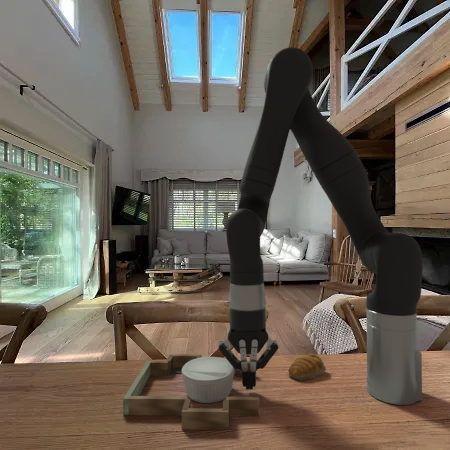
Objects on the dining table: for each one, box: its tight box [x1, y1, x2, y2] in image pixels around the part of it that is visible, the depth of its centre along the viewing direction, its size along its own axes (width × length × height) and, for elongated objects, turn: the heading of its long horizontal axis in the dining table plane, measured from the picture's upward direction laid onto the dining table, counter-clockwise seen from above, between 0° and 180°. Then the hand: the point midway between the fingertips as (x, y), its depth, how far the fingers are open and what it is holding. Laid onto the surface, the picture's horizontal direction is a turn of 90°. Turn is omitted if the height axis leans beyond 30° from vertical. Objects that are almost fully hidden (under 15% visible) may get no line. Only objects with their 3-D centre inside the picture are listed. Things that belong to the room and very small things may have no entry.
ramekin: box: [181, 356, 235, 404], centre depth 68 cm, size 11×11×5 cm
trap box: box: [122, 353, 260, 431], centre depth 68 cm, size 25×25×3 cm
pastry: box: [288, 353, 327, 381], centre depth 76 cm, size 9×7×4 cm
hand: (249, 387), depth 67 cm, fingers closed
